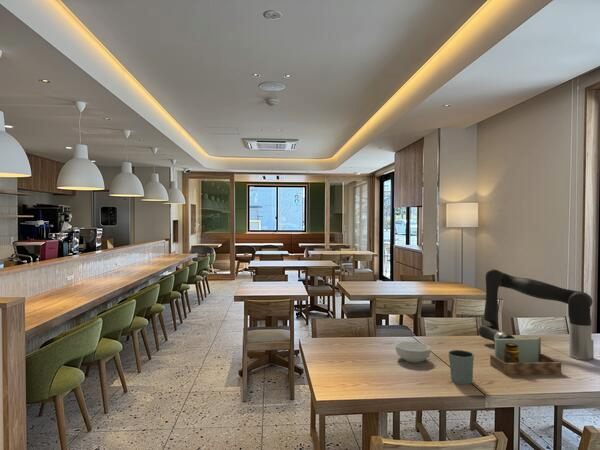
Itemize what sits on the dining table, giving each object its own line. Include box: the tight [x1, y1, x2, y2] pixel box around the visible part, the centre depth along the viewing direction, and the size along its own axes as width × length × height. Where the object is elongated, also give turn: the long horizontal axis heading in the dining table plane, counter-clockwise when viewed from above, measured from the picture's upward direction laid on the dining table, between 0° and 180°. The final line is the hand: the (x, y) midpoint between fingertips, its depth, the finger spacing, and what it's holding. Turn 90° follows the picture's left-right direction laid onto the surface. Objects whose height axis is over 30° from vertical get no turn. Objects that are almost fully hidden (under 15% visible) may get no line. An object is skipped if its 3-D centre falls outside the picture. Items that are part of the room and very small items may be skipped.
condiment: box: [504, 343, 519, 363], centre depth 188 cm, size 7×8×12 cm
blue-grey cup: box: [448, 349, 475, 386], centre depth 174 cm, size 10×10×12 cm
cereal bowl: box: [395, 341, 432, 364], centre depth 201 cm, size 17×17×7 cm
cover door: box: [494, 337, 542, 363], centre depth 195 cm, size 22×1×13 cm, turn 93°
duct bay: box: [489, 353, 562, 376], centre depth 188 cm, size 26×13×5 cm, turn 92°
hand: (524, 350), depth 196 cm, fingers closed
